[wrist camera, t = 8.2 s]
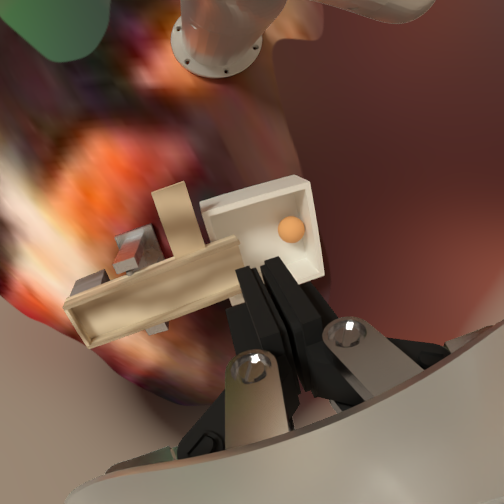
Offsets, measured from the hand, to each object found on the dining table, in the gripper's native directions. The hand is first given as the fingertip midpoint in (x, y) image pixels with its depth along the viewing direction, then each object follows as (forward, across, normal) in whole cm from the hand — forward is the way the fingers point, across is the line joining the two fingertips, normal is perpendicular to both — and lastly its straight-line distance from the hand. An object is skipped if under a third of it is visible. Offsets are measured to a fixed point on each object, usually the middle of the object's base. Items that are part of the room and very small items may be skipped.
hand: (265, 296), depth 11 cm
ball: (+30, -9, +11) cm, 34 cm away
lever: (+30, +12, +7) cm, 33 cm away
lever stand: (+33, +13, +11) cm, 37 cm away
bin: (+33, -5, +11) cm, 35 cm away
